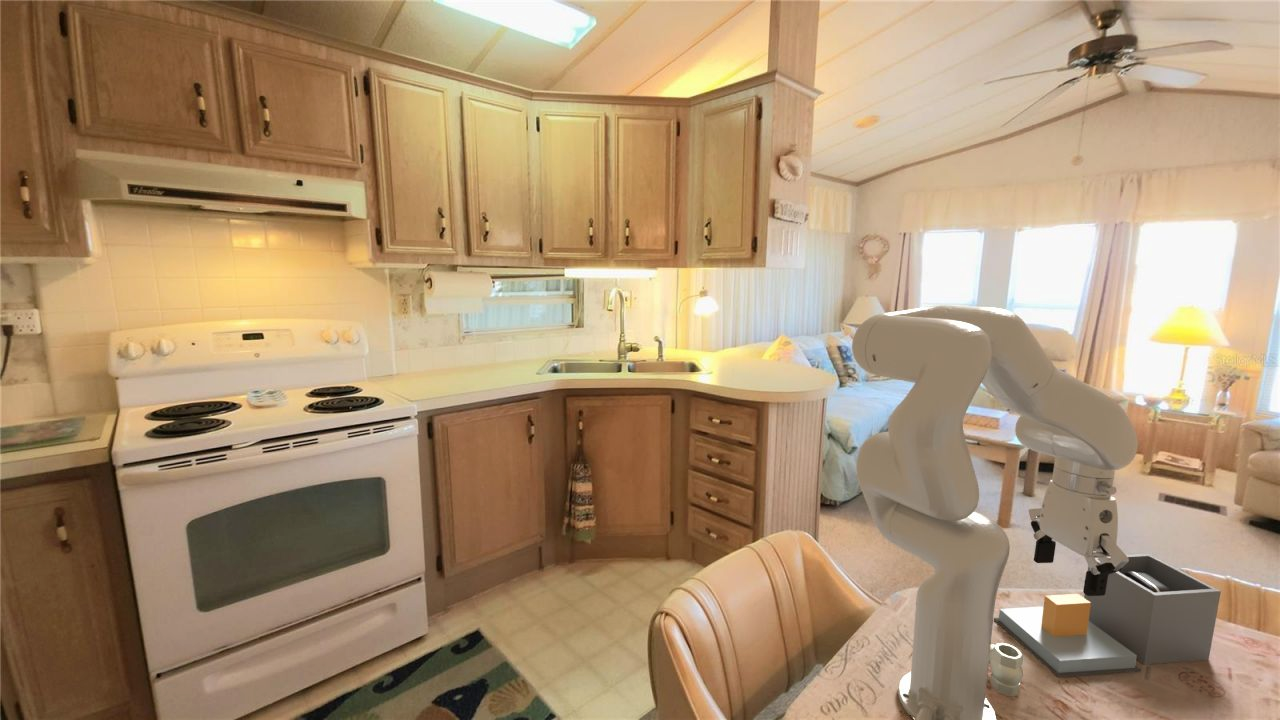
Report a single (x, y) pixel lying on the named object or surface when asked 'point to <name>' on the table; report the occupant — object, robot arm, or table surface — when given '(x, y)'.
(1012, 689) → the valve
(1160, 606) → the tub
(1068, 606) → the lid
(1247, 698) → the table surface
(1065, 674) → the mat
